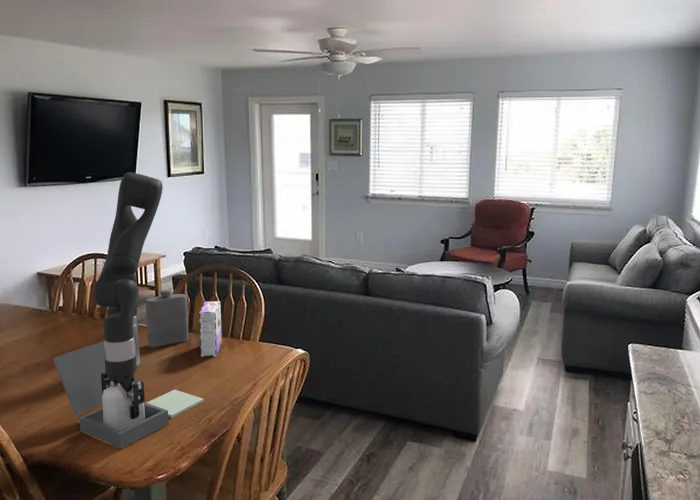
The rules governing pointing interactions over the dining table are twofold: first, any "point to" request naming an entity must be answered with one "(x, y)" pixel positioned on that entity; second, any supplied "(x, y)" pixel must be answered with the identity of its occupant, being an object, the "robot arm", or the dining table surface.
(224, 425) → the dining table surface
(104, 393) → the white slotted device
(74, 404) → the case lid
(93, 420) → the case
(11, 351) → the dining table surface
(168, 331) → the flask
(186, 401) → the mat
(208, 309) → the candy box
